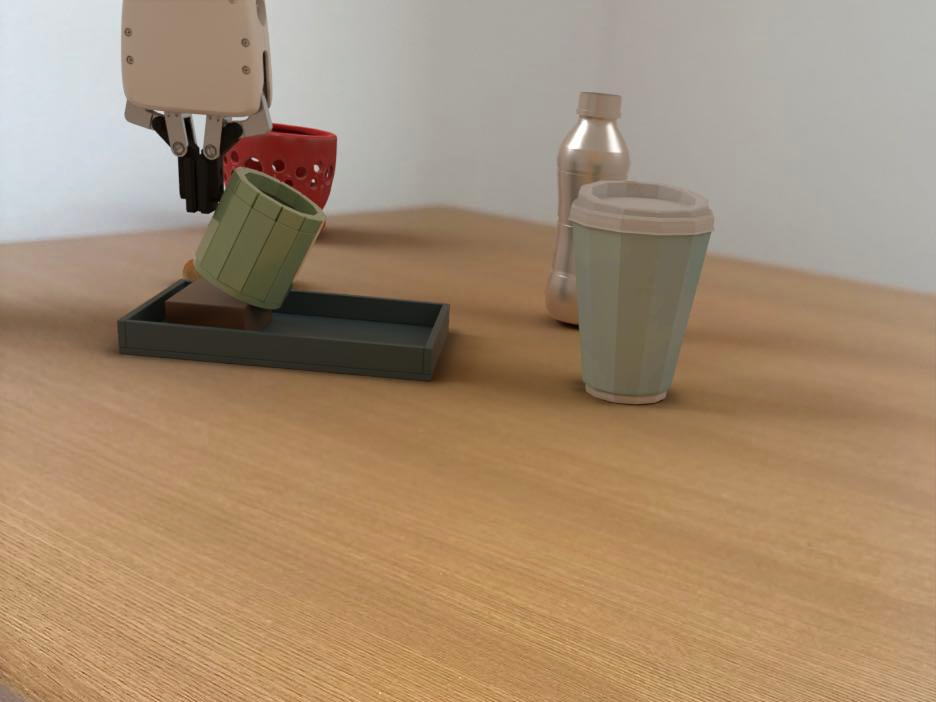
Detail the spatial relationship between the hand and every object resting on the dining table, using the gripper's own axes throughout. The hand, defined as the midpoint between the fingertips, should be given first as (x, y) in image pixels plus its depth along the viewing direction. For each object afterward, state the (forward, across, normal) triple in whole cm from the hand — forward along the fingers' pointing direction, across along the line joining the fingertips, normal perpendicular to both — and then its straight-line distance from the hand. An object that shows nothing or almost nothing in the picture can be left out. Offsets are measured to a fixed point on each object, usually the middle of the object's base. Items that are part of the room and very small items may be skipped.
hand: (202, 210), depth 87 cm
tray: (+10, -7, 0) cm, 12 cm away
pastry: (+10, +2, -18) cm, 21 cm away
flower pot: (+10, +5, -47) cm, 48 cm away
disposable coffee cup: (+10, -33, +6) cm, 35 cm away
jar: (+5, -3, 0) cm, 6 cm away
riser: (+10, -1, 0) cm, 10 cm away
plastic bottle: (+10, -30, -15) cm, 35 cm away
